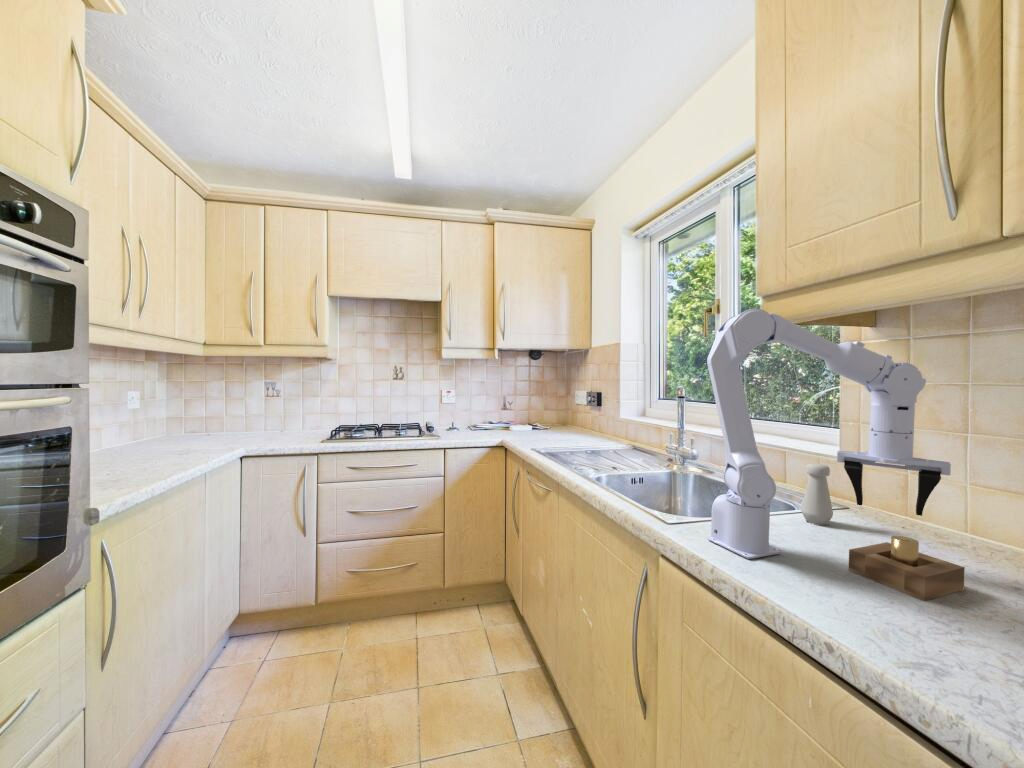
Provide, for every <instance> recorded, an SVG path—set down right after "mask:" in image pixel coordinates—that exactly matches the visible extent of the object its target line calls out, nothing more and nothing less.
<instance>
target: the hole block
mask: <svg viewBox="0 0 1024 768" xmlns="http://www.w3.org/2000/svg"><path fill="white" fill-rule="evenodd" d="M965 567H966V566H961V565H958V564H955V563H953V562H950V561H948V560H947V561H946V560H943V559H941V558H937V557H934V556H931V555H927V554H925V553H921V552H919V551H918V567H912V566H909V565H906V564H903V563H901V562H898V561H895V560H892V559H891V542H888V541H886V542H882V543H877V544H870V545H866V546H860V547H856V548H849V549H848V571H850V572H851V573H855V574H857V575H860V576H862V577H863V578H864V577H865V578H867V579H869V580H872V581H874V582H877V583H879V584H881V585H884V586H886V587H889V588H891V589H893V590H896V591H898V592H901V593H903V594H906V595H908V596H911V597H913V598H915V599H918V600H921V601H924V602H925V601H929V600H932V599H936V598H939V597H943V596H947V595H950V594H955V593H957V592H961V591H964V588H965V569H966V568H965Z"/></svg>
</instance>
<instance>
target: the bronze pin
mask: <svg viewBox="0 0 1024 768" xmlns="http://www.w3.org/2000/svg"><path fill="white" fill-rule="evenodd" d="M890 538H891V539H890V543H891V559H892V560H895V561H898V562H901V563H903V564H906V565H909V566H912V567H918V552H919V548H920V547H919V546H920V544H919V543H920V542H919V541H918V539H917V540H916V539H914V538H912V537H907V536H904V535H891V537H890Z"/></svg>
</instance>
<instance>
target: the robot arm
mask: <svg viewBox="0 0 1024 768" xmlns="http://www.w3.org/2000/svg"><path fill="white" fill-rule="evenodd" d="M778 343H779V344H783V345H785V346H787V347H791V348H792V349H795V350H797V351H800V352H803V353H806V354H808V355H811V356H813V357H816V358H819V359H820V360H824V363H825V367H826V368H827V370H828V371H830V372H832V373H834V374H837V375H840V376H842V377H845V378H846V379H849V380H851V381H853V382H855V383H858V384H860V385H862V386H863V387H864V388H865V389H866V391H868V392H869V393H870V409H869V410H870V412H869V432H868V433H869V435H868V437H869V439H868V441H869V442H868V452H864V451H863V452H862V451H850V450H847V451H846V450H840V449H839V450H837V452H836V463H842V464H843V463H844V465H843V468H844V470H845V472H846V474H847V476H848V478H849V480H850V483H851V485H852V488H853V490H854V491H853V492H854V494H855V498H856V499H855V500H856V505H857V506H863V504H864V503H863V499H864V498H863V496H864V495H863V469H864V468H863V467H864V465H867V466H872V467H873V466H874V467H875V466H876V467H883V468H891V469H899V470H908V471H915V472H918V473H917V474H918V479H917V481H918V482H917V496H916V497H917V498H916V504H915V515H916V516H920V517H922V516H923V512H924V509H925V505H926V504H927V501H928V499H929V497H930V495H931V493H932V492H933V490H934V489H935V488H936V487H937V485H938V484H939V483H940V481H941V480H942V475H943V476H951V471H952V470H951V469H952V467H951V465H952V464H951V462H950V461H942V460H933V459H928V458H927V459H926V458H922V457H921V458H920V457H914V441H915V440H914V439H915V438H914V436H915V411H916V408H915V407H916V404H917V398H918V395H919V393H921V391H923V389H924V388H925V386H926V383H927V379H926V378H923V375H922V372H921V371H920V370H919V368H918V367H917V366H915V365H914V364H913V363H910V362H895V361H894V360H893V357H892V355H889V354H880V353H877V352H875V351H872V350H870V349H868V348H865V343H863V342H861V341H858V340H856V341H853V342H851V341H843V342H841V343H835V342H833V341H831V340H829V339H827V338H825V337H823V336H821V335H819V334H817V333H814V332H813V331H811V330H808V329H806V328H804V327H802V326H800V325H797V324H796V323H794V322H792V321H790V320H788V319H786V318H784V317H783V316H781V315H779V314H776V313H769V312H768V311H766V310H764V309H761V308H756V307H755V308H749V309H746V310H745V311H743V312H741V313H739V314H737V315H734V316H731V317H729V318H728V319H727V320H725V321H724V323H723V324H722V325H720V326H719V327H718V329H717V331H716V334H715V339H714V341H713V344H712V346H711V349H710V351H709V353H708V356H707V359H706V363H707V369H708V373H709V377H710V382H711V387H712V391H713V396H714V401H715V405H716V410H717V415H718V417H719V418H718V419H719V423H720V428H721V433H722V437H723V440H724V441H723V442H724V446H725V455H724V456H723V457H724V463H725V466H724V469H723V470H724V471H723V482H724V484H725V485H726V486H727V488H728V489H727V490H728V491H727V492H726V493H723V494H720V495H718V496H717V497H715V499H714V501H713V502H712V506H711V520H710V521H711V524H710V536H708V537H707V540H708V541H710V542H711V543H715V544H716V545H719V546H721V547H722V548H725V549H727V550H729V551H731V552H733V553H734V554H737V555H739V556H741V557H742V558H743V557H744V558H745V559H748V560H752V559H757V558H762V557H763V558H764V557H768V556H774V555H780V554H781V550H779V549H777V548H775V547H773V546H771V545H770V544H769V543H770V522H771V521H770V516H771V501H772V500H773V499H774V497H775V496H776V492H777V484H776V483H775V480H774V478H772V476H771V475H770V474H769V472H768V470H767V467H766V464H765V461H764V459H763V458H762V456H761V454H760V452H759V450H758V447H757V443H756V439H755V433H754V431H753V429H754V428H753V425H752V421H751V416H750V412H749V406H748V403H747V398H746V394H745V390H744V386H743V380H742V375H741V371H740V365H741V363H742V362H743V361H744V360H745V358H746V357H747V356H748V355H749V354H750V352H751V351H753V350H754V349H755V348H757V347H758V346H761V344H764V345H765V344H778Z"/></svg>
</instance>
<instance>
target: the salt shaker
mask: <svg viewBox="0 0 1024 768" xmlns="http://www.w3.org/2000/svg"><path fill="white" fill-rule="evenodd" d="M805 470H806V473H807V474H808V478H807V483H806V487H805V492H804V496H803V500H802V504H801V508H800V510H801V513H802V515H803V516H802V517H804V520H805V519H806V520H805V521H806V522H807V521H808V522H807V523H809V522H811V523H810V524H812V523H814V524H813V525H815V524H820V525H819V526H827V525H828V524H829V522H830V521H831V520H832V519H833V518H834V517H833V516H834V512H833V506H832V500H831V494H830V489H829V485H828V480H827V479H828V478H827V477H829V476H830V475H831V468H830V467H829V466H828V465H827V464H822V463H815V462H814V463H808V464H806V469H805ZM827 523H828V524H827ZM826 524H827V525H826Z"/></svg>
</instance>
